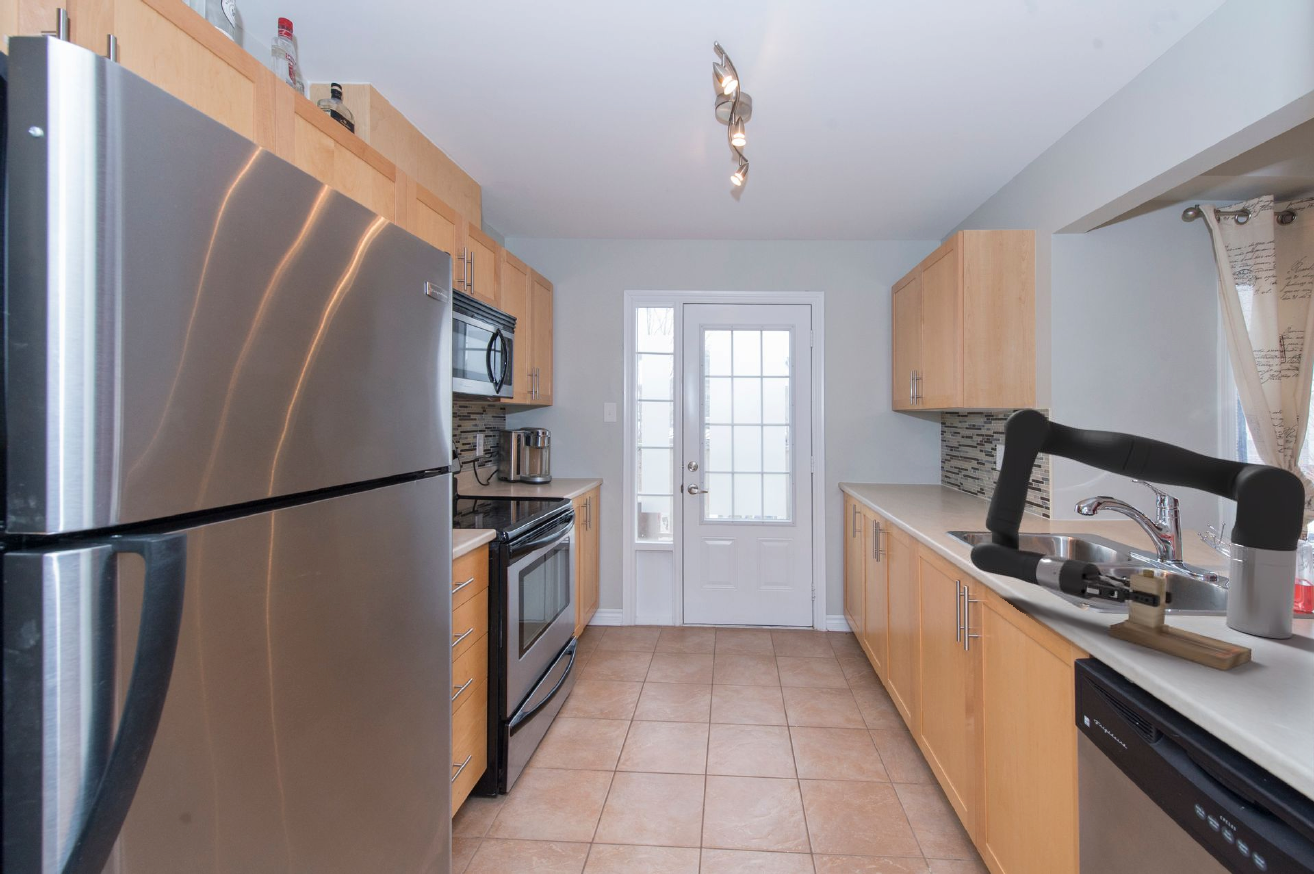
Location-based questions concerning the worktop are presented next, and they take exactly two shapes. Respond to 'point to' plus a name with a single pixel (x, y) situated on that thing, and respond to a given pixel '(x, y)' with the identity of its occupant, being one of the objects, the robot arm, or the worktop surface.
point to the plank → (1187, 646)
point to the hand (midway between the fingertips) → (1165, 599)
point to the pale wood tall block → (1145, 615)
